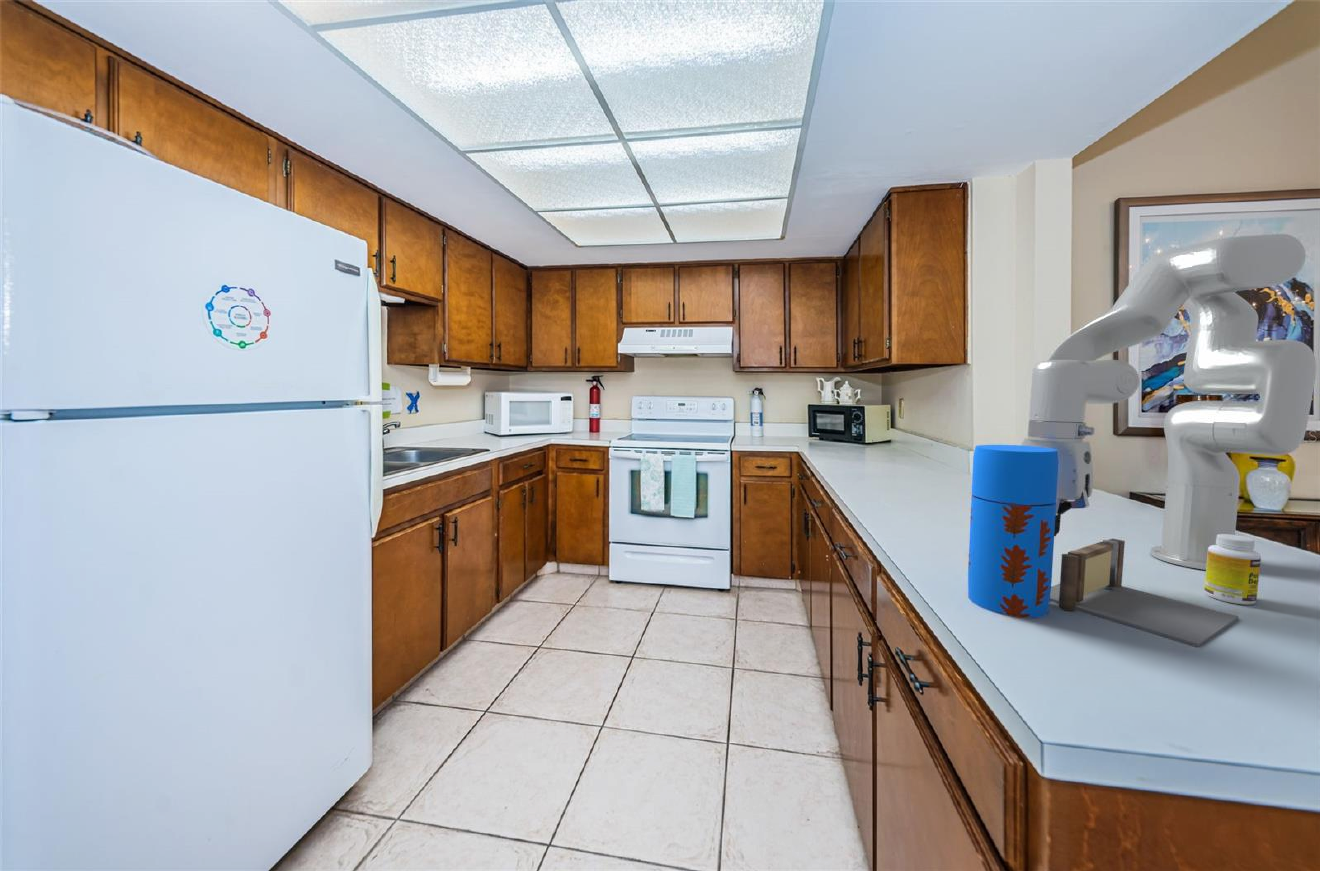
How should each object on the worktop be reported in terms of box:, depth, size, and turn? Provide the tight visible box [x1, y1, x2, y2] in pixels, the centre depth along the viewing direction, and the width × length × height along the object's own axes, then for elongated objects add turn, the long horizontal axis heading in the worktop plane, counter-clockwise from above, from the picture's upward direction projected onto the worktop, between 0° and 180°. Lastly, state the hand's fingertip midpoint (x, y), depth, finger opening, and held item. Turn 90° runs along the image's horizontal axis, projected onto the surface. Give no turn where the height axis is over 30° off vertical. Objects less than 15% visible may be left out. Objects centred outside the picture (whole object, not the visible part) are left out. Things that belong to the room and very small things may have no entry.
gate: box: [1067, 539, 1119, 602], centre depth 80 cm, size 14×2×8 cm, turn 118°
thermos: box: [967, 444, 1059, 619], centre depth 78 cm, size 11×11×25 cm
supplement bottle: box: [1204, 534, 1262, 606], centre depth 79 cm, size 6×6×10 cm
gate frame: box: [1049, 538, 1239, 648], centre depth 76 cm, size 18×19×8 cm
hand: (1046, 535), depth 87 cm, fingers closed
